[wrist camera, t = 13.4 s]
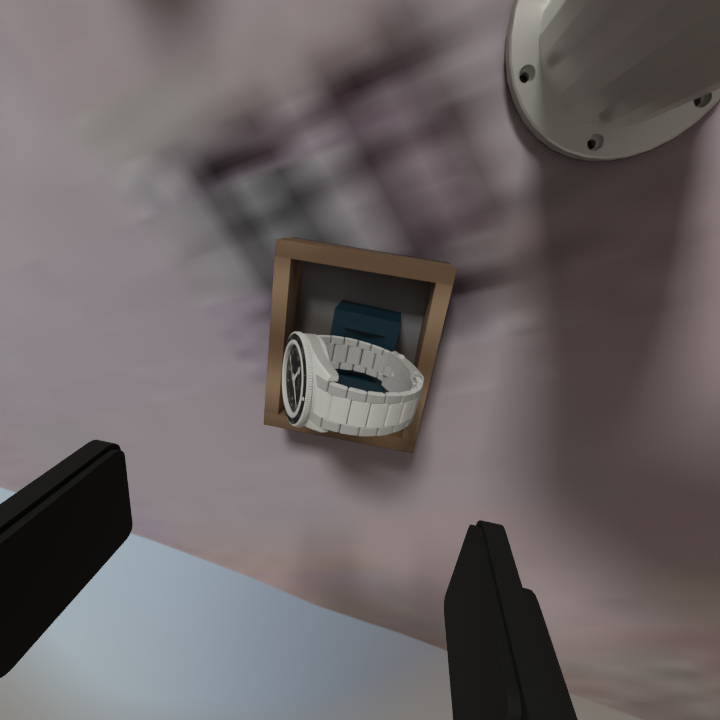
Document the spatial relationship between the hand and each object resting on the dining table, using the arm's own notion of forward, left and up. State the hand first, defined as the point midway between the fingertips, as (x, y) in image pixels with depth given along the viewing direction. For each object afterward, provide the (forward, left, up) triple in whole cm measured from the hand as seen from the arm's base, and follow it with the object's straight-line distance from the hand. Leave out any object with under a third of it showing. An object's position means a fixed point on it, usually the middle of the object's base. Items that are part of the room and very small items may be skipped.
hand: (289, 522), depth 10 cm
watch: (+1, 0, -19) cm, 19 cm away
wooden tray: (+1, 0, -19) cm, 19 cm away
